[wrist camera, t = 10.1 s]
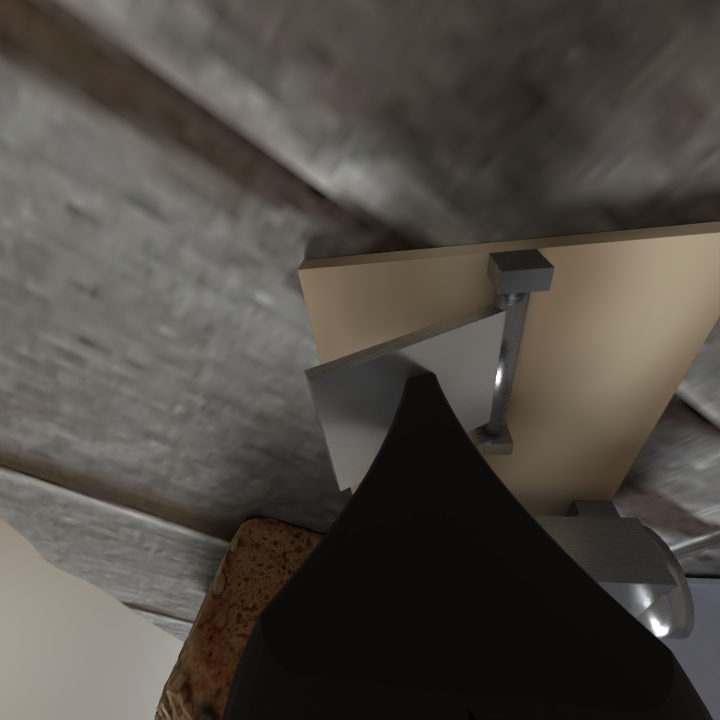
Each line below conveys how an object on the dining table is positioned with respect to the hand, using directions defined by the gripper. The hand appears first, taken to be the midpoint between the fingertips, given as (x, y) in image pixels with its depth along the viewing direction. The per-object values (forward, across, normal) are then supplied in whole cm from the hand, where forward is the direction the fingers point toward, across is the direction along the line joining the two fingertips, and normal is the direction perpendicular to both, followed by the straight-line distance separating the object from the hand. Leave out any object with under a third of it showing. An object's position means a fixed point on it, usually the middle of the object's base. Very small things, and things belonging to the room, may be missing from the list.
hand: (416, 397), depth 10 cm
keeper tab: (0, 0, 0) cm, 0 cm away
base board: (+3, -3, +5) cm, 6 cm away
